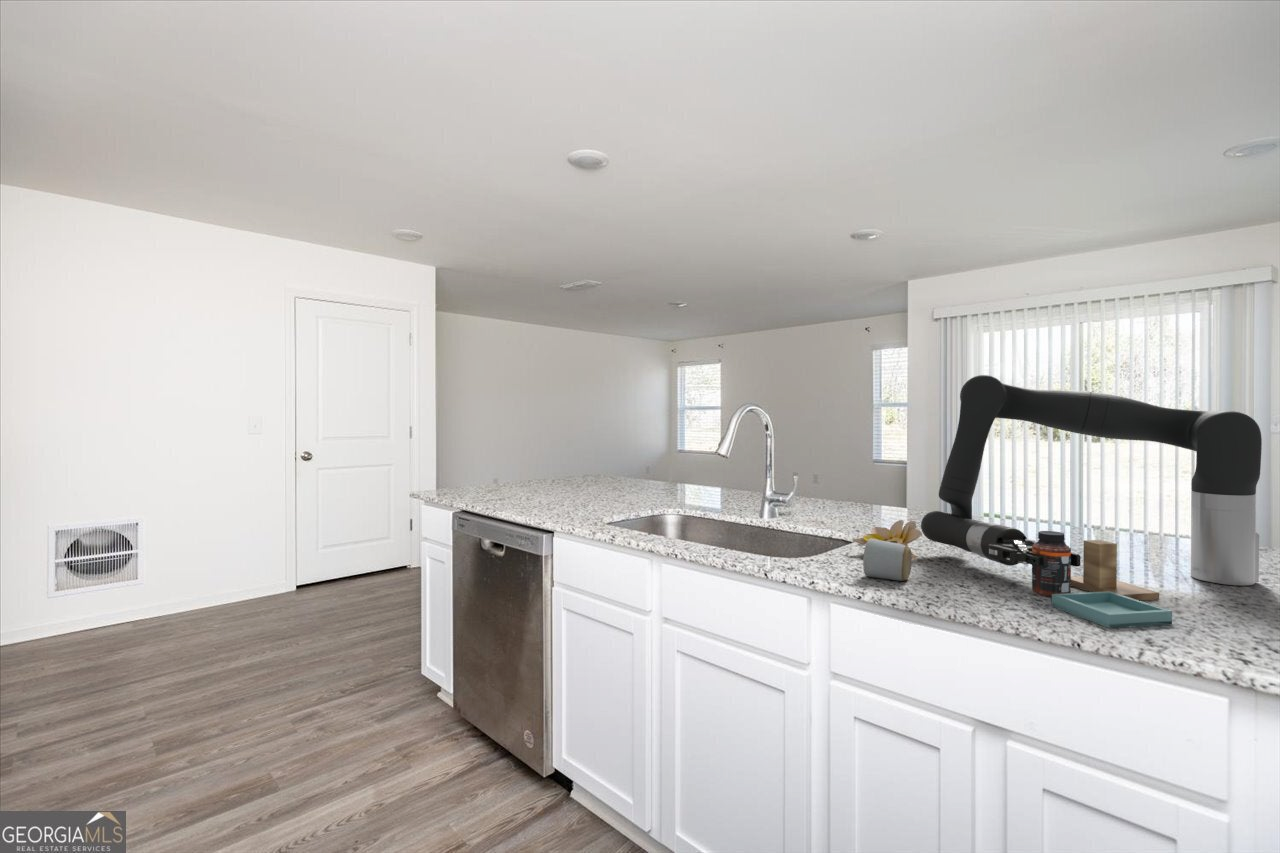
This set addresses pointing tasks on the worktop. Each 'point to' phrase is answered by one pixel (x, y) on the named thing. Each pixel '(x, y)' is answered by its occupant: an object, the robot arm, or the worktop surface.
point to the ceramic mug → (887, 560)
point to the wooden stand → (1106, 572)
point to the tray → (1111, 609)
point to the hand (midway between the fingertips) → (1062, 561)
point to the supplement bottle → (1052, 565)
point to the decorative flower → (893, 534)
